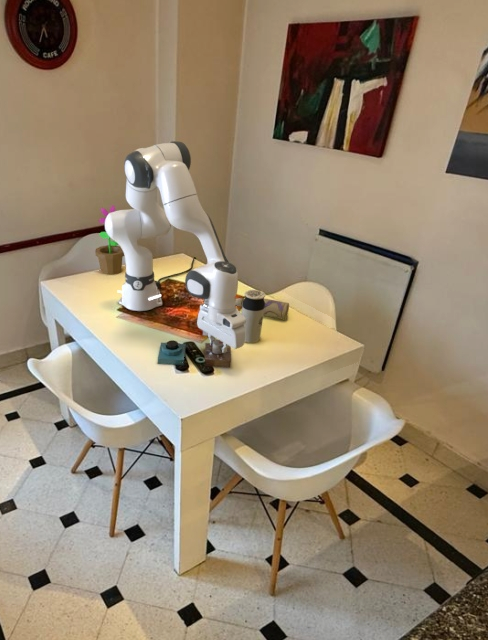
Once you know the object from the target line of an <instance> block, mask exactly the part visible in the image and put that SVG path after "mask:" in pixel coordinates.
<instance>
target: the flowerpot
mask: <svg viewBox="0 0 488 640" xmlns="http://www.w3.org/2000/svg"><path fill="white" fill-rule="evenodd" d="M100 211H101V213H102V215H103V216H104V217H101V218H100V219H98V222H99V224H105V219H106V217H107V215H108V214H109V213H111V212H115V211H116V207H115V205H114V204H113V205H111V207H110V209H109V211H108V210H107V209H106V208H104V207H101V208H100ZM98 235H99V236H100V238H102V239H104V240H106V239H107V241H108V244H107V245H101V246H98V247H96V248H95V250H94V253H95V257H96V258H98V262H99V267H100V272H101V273H102V274H105V275H117V274H119V273H122V269H123V257H125V256H124V252H123V250H122V248H121V247H120V245H119V244H118V243H117V242H116V241H114V240H111V238H110V237H109V236H108V234H107V233H106V231H101V232H100V233H98Z"/></svg>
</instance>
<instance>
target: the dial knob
mask: <svg viewBox="0 0 488 640" xmlns="http://www.w3.org/2000/svg"><path fill="white" fill-rule="evenodd" d="M223 346H224V345H223V342H222V341H220V340H218V339H215V340H214V341H213V347H212V352H213V353H215V354H222V353H223V352H221V351H220V350H221V349H220V348H221V347H223Z"/></svg>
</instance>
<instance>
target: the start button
mask: <svg viewBox="0 0 488 640" xmlns="http://www.w3.org/2000/svg"><path fill="white" fill-rule="evenodd" d="M166 342H167V349H169V350H175V349H178V343H179V342H178V341H177V340H173V339H172V340H168V341H166Z"/></svg>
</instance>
